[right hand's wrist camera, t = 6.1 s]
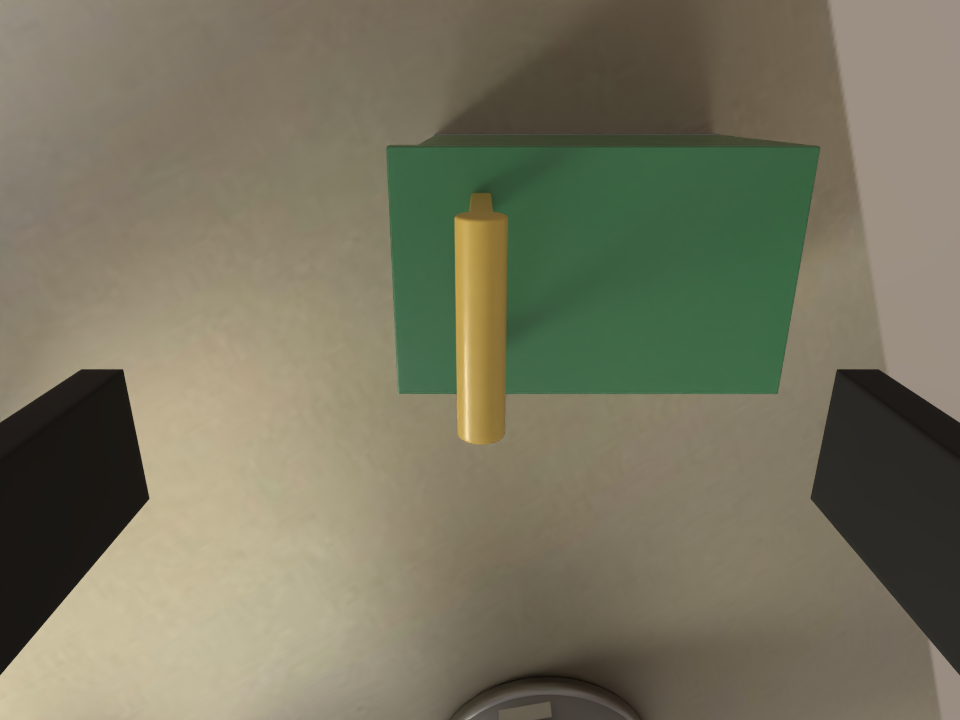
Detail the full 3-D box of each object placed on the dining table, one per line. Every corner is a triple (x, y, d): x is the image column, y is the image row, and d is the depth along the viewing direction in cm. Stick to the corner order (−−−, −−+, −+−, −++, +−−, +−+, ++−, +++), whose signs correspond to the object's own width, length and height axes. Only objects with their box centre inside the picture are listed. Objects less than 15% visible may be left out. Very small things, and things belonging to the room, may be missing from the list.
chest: (439, 311, 36) (424, 385, 27) (435, 133, 33) (416, 144, 23) (692, 311, 36) (769, 385, 27) (713, 133, 33) (809, 144, 23)
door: (400, 386, 27) (370, 487, 20) (389, 144, 23) (348, 161, 16) (769, 386, 27) (875, 488, 19) (809, 145, 23) (954, 161, 16)
